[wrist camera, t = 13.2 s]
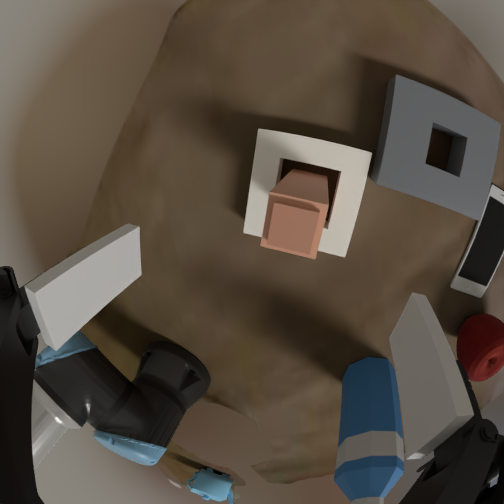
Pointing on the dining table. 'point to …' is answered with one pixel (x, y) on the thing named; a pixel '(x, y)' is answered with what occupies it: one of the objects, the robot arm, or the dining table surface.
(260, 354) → the dining table surface
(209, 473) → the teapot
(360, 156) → the white square frame
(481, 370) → the apple
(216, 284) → the dining table surface
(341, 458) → the water bottle
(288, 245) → the plug
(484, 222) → the smartphone
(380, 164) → the grey flat block
